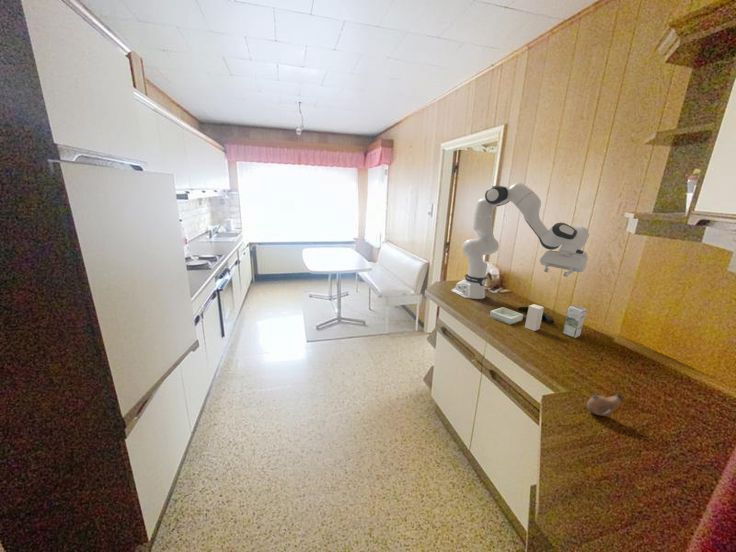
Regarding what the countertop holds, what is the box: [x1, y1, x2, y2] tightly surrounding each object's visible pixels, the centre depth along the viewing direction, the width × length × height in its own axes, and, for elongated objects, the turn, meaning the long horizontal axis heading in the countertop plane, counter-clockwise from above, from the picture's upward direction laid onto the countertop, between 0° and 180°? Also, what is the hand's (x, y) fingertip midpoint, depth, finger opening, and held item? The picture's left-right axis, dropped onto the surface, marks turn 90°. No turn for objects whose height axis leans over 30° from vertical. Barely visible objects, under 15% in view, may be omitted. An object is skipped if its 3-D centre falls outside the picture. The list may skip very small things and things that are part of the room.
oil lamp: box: [586, 393, 624, 417], centre depth 88 cm, size 9×4×8 cm, turn 81°
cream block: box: [524, 303, 545, 332], centre depth 145 cm, size 5×5×12 cm
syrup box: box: [562, 304, 587, 339], centre depth 139 cm, size 6×6×14 cm
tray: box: [489, 306, 524, 326], centre depth 157 cm, size 12×12×4 cm
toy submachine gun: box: [518, 306, 555, 325], centre depth 161 cm, size 3×20×16 cm
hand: (555, 273), depth 145 cm, fingers open, 8 cm apart
